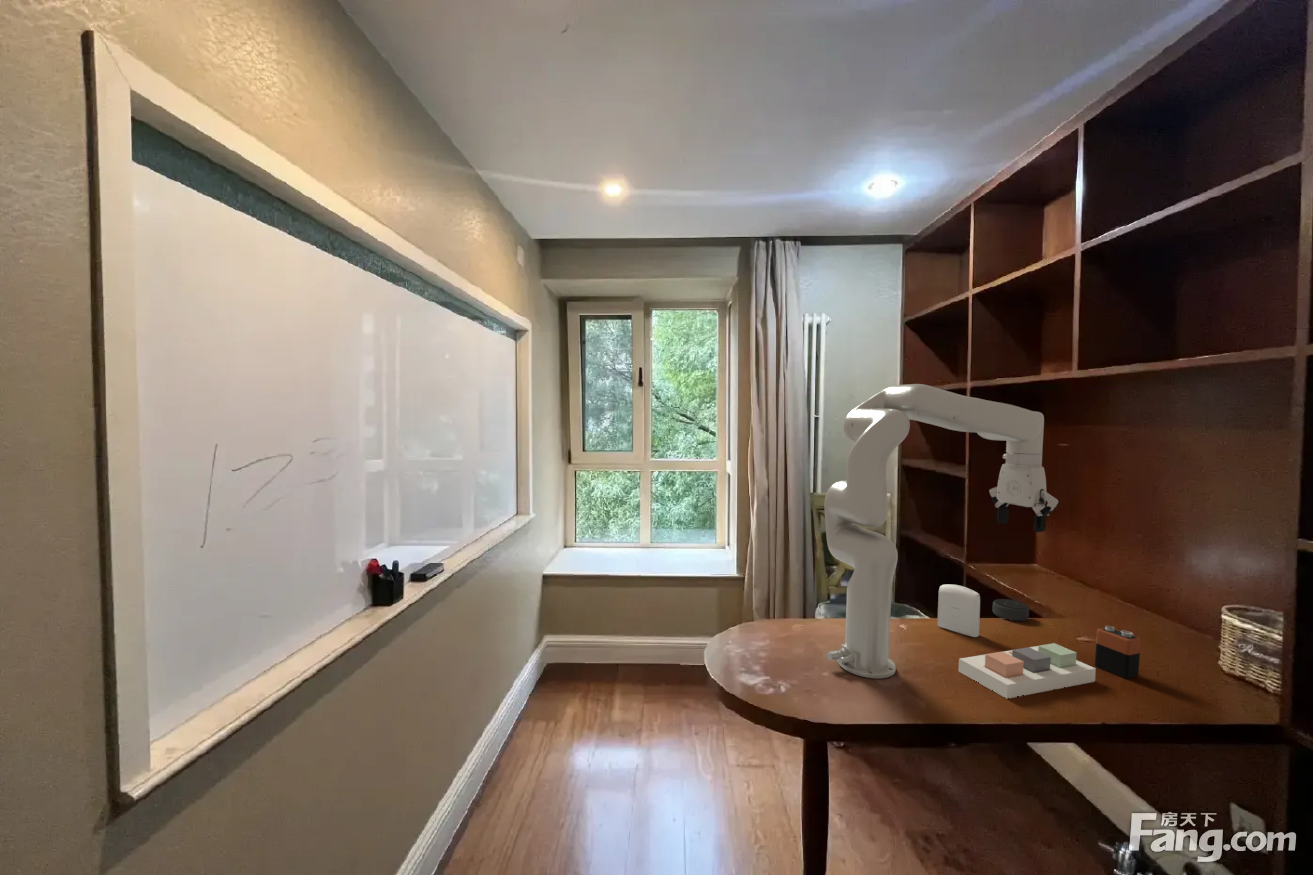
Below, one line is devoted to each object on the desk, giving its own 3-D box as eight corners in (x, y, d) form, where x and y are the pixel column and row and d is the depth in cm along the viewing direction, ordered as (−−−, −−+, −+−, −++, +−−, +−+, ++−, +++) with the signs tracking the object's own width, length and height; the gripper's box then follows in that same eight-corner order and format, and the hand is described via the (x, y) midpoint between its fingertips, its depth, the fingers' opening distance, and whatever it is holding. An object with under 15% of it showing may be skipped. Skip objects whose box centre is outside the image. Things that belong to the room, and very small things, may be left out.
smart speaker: (1036, 622, 152) (1037, 609, 152) (1006, 623, 151) (1007, 609, 151) (1013, 610, 161) (1014, 597, 161) (985, 611, 160) (986, 598, 160)
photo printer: (934, 626, 148) (936, 582, 147) (941, 622, 150) (943, 579, 150) (975, 639, 140) (977, 593, 139) (981, 635, 142) (983, 589, 142)
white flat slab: (1006, 698, 111) (1007, 683, 111) (958, 671, 122) (959, 657, 122) (1094, 681, 119) (1095, 667, 118) (1041, 657, 130) (1042, 644, 130)
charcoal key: (1033, 674, 116) (1033, 659, 116) (1011, 663, 121) (1012, 649, 121) (1049, 671, 118) (1050, 657, 118) (1028, 660, 122) (1028, 647, 122)
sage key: (1059, 669, 119) (1060, 655, 118) (1037, 659, 123) (1038, 645, 123) (1075, 666, 120) (1076, 652, 120) (1053, 656, 125) (1054, 643, 125)
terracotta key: (1005, 679, 114) (1006, 664, 114) (984, 668, 119) (985, 654, 118) (1022, 676, 115) (1023, 661, 115) (1001, 665, 120) (1002, 651, 120)
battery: (1126, 680, 120) (1130, 636, 119) (1093, 666, 126) (1096, 624, 125) (1139, 677, 121) (1142, 634, 120) (1105, 663, 127) (1108, 622, 127)
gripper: (981, 457, 141) (978, 520, 142) (1047, 464, 125) (1043, 536, 126) (1002, 456, 144) (999, 519, 145) (1069, 463, 127) (1066, 534, 128)
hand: (1020, 527), depth 135 cm, fingers open, 9 cm apart
